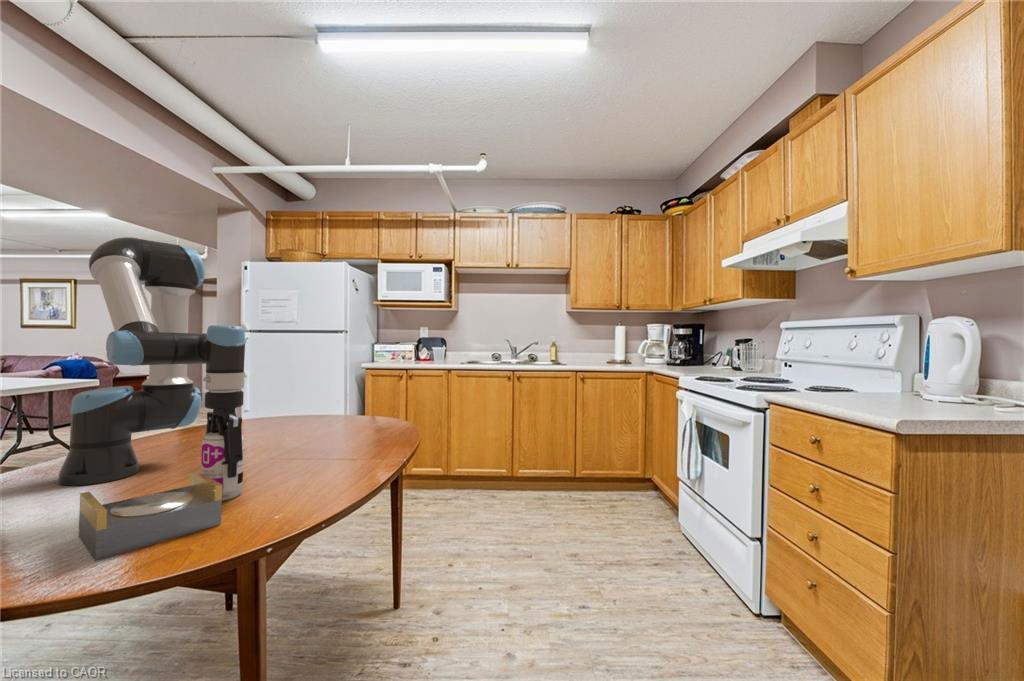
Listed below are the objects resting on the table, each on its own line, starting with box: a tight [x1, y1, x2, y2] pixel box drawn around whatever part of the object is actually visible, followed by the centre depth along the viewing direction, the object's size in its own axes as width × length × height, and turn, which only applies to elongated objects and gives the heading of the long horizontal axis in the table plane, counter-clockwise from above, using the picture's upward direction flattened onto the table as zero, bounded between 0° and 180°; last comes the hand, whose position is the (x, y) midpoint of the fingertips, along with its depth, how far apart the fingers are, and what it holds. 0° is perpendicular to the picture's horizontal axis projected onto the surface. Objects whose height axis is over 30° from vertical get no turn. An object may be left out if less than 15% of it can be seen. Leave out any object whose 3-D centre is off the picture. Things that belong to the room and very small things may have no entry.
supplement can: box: [200, 432, 245, 502], centre depth 98 cm, size 8×8×15 cm
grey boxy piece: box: [78, 470, 223, 562], centre depth 80 cm, size 14×18×8 cm
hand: (221, 486), depth 98 cm, fingers closed on supplement can, 8 cm apart
